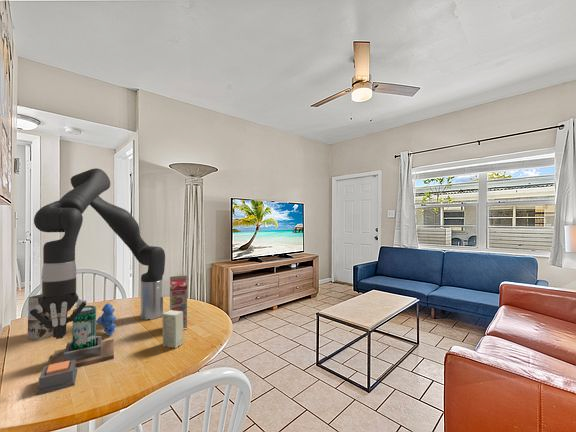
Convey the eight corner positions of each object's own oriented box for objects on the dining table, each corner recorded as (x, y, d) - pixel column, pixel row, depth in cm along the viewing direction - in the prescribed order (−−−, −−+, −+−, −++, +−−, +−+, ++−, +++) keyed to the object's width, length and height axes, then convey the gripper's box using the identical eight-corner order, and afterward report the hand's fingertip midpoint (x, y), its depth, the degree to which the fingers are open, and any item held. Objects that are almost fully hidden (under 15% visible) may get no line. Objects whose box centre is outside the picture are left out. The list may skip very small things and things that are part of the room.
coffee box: (40, 340, 105) (40, 298, 105) (26, 338, 106) (27, 297, 106) (64, 330, 113) (64, 291, 113) (51, 329, 115) (51, 290, 115)
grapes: (92, 332, 112) (92, 303, 112) (111, 327, 117) (111, 299, 117) (99, 341, 104) (99, 309, 104) (119, 336, 109) (119, 305, 109)
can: (70, 358, 89) (70, 312, 89) (76, 350, 95) (76, 306, 95) (92, 355, 91) (93, 310, 92) (97, 347, 97) (97, 304, 97)
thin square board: (113, 342, 103) (113, 331, 103) (113, 358, 92) (113, 346, 92) (54, 354, 94) (54, 342, 94) (46, 374, 82) (47, 360, 82)
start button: (69, 370, 82) (69, 360, 82) (67, 378, 78) (67, 367, 78) (49, 375, 79) (49, 364, 79) (46, 383, 75) (46, 372, 75)
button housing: (77, 371, 84) (77, 358, 84) (74, 385, 77) (74, 370, 77) (42, 379, 80) (42, 366, 80) (36, 394, 73) (36, 379, 73)
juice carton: (169, 325, 120) (170, 275, 120) (185, 323, 122) (186, 274, 122) (169, 331, 114) (170, 278, 114) (186, 329, 116) (187, 277, 116)
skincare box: (183, 343, 103) (184, 311, 103) (175, 349, 99) (175, 315, 99) (170, 341, 105) (170, 309, 105) (161, 346, 101) (161, 313, 101)
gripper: (89, 272, 85) (89, 328, 85) (31, 277, 78) (31, 338, 78) (87, 277, 79) (87, 337, 79) (24, 283, 72) (25, 349, 72)
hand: (59, 337), depth 79 cm, fingers closed
